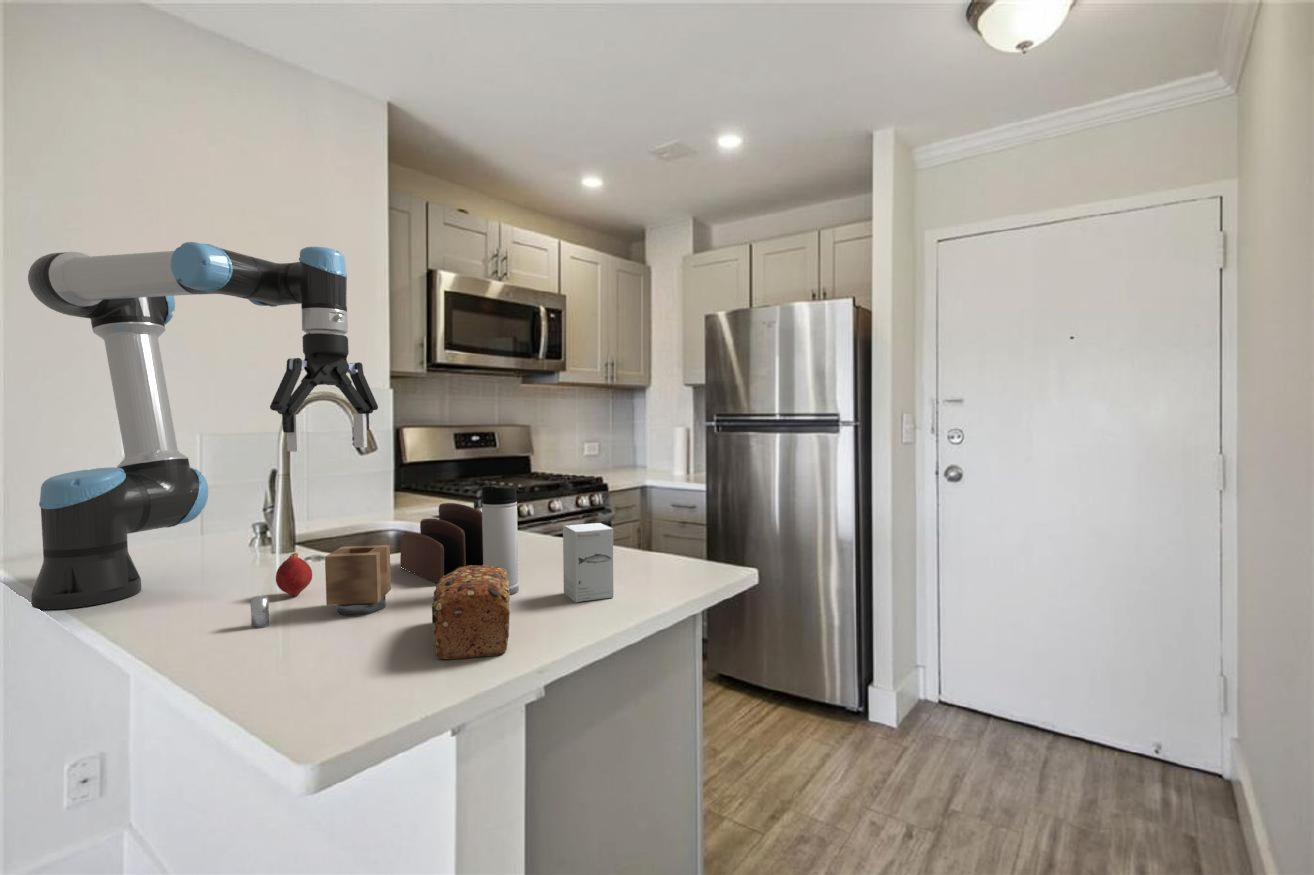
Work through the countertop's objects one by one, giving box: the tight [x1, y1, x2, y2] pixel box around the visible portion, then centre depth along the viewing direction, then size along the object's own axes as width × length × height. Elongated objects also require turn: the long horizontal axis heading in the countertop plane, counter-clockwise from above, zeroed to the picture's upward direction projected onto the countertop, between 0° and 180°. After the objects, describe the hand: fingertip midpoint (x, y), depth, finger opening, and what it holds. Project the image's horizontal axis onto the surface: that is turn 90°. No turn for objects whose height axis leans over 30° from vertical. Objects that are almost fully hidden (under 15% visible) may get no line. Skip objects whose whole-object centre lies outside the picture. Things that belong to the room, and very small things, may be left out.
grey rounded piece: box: [250, 595, 270, 629], centre depth 102 cm, size 2×2×4 cm
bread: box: [431, 565, 511, 660], centre depth 96 cm, size 19×11×10 cm, turn 13°
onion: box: [275, 552, 313, 597], centre depth 118 cm, size 6×6×8 cm
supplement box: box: [562, 522, 615, 604], centre depth 116 cm, size 7×7×13 cm
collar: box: [324, 544, 392, 606], centre depth 110 cm, size 8×8×8 cm
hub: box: [336, 595, 387, 617], centre depth 110 cm, size 8×8×7 cm
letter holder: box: [399, 502, 483, 584], centre depth 135 cm, size 10×20×14 cm, turn 44°
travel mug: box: [481, 485, 520, 596], centre depth 119 cm, size 6×7×20 cm
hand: (329, 449), depth 120 cm, fingers open, 13 cm apart
